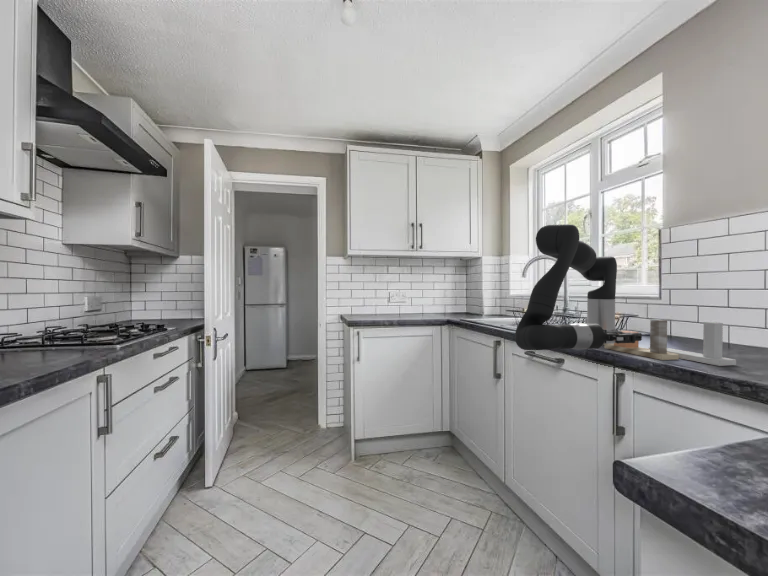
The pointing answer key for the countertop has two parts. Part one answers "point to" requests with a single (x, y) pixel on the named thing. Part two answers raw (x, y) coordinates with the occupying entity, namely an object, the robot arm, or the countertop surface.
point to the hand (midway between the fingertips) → (628, 334)
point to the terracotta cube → (628, 345)
